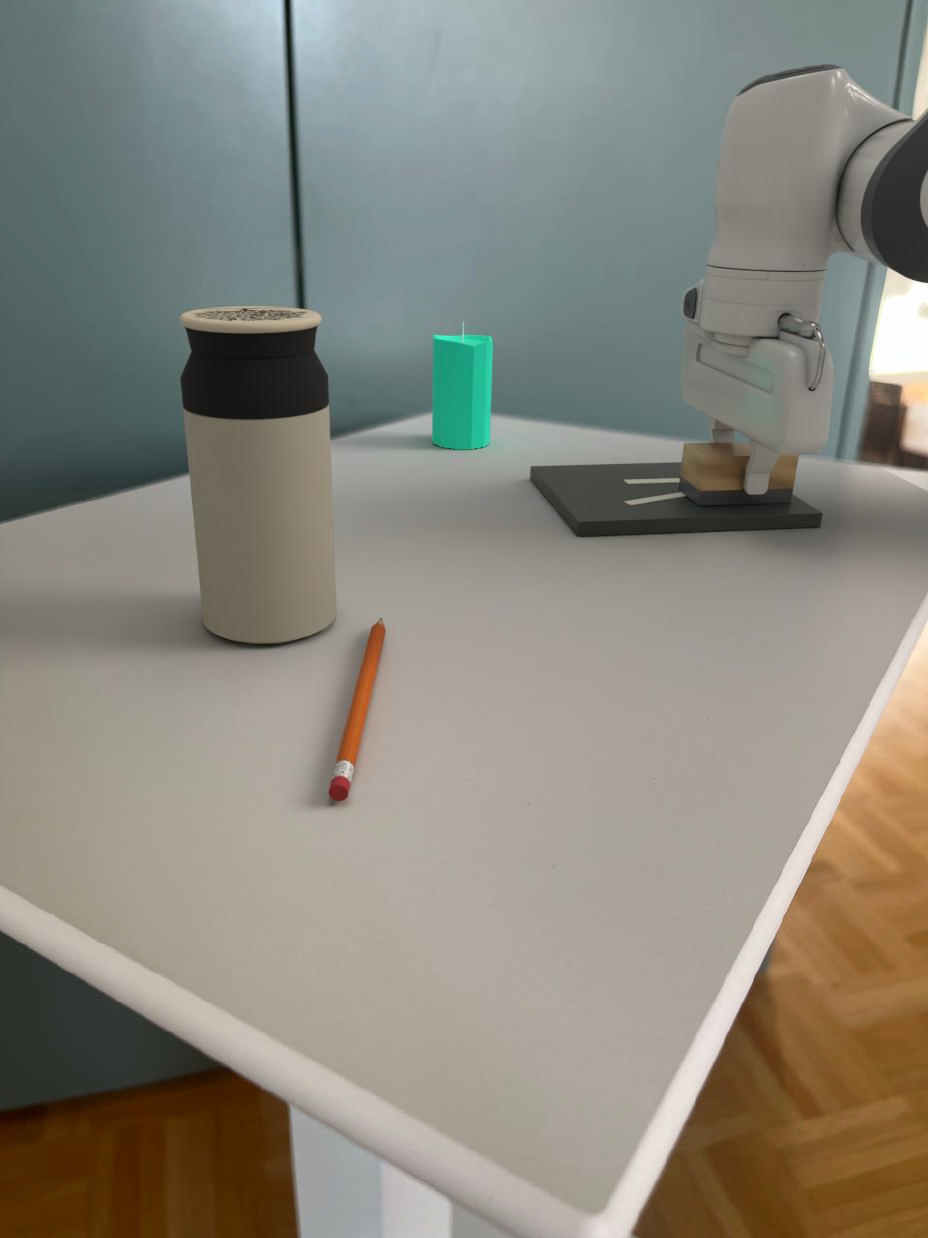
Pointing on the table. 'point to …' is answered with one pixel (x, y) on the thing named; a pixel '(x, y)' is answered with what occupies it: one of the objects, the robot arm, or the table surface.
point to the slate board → (652, 502)
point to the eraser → (730, 475)
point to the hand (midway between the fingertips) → (737, 481)
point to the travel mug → (260, 472)
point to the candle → (462, 390)
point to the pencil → (357, 715)
